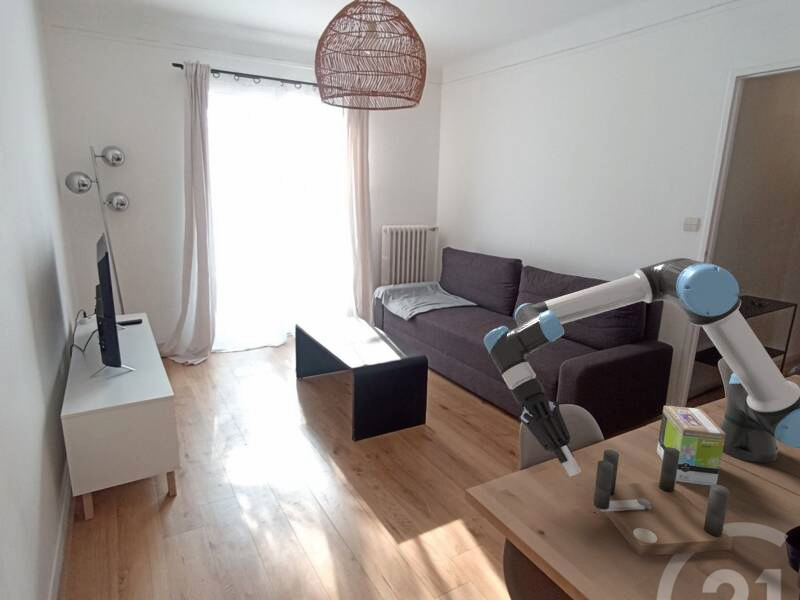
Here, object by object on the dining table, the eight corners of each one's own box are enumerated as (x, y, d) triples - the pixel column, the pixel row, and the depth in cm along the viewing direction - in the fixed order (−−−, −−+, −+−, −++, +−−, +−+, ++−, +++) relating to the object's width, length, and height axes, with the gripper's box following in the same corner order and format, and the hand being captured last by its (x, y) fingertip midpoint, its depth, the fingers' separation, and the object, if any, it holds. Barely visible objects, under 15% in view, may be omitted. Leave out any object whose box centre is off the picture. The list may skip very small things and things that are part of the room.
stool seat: (668, 490, 116) (674, 444, 114) (731, 549, 97) (741, 495, 94) (590, 495, 114) (595, 448, 112) (639, 556, 95) (646, 501, 92)
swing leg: (644, 501, 108) (650, 458, 105) (652, 510, 105) (659, 466, 102) (590, 504, 106) (595, 460, 104) (597, 513, 103) (602, 469, 101)
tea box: (718, 487, 118) (727, 433, 115) (674, 482, 120) (682, 429, 117) (694, 455, 132) (701, 407, 129) (655, 452, 134) (662, 403, 131)
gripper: (531, 384, 125) (581, 470, 115) (497, 396, 118) (547, 488, 108) (549, 371, 120) (603, 460, 110) (514, 383, 112) (569, 479, 103)
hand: (575, 474), depth 109 cm, fingers closed
